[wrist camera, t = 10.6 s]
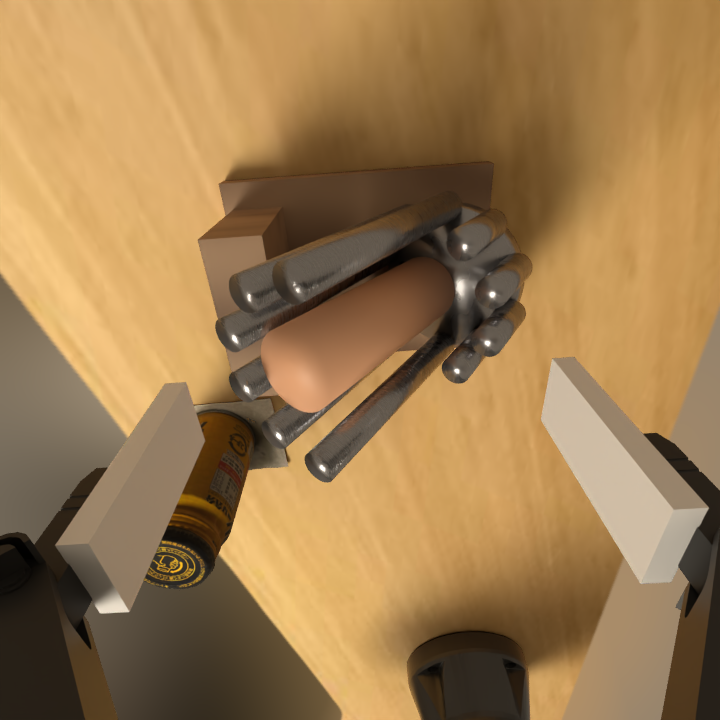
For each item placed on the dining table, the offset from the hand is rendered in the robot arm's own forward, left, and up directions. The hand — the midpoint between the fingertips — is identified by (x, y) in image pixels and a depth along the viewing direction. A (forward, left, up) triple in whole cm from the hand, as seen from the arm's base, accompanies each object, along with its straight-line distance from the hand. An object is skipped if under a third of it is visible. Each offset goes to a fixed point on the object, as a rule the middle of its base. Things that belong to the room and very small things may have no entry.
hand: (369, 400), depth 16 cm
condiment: (-14, +12, -16) cm, 24 cm away
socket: (0, -1, -15) cm, 15 cm away
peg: (-1, -4, -12) cm, 13 cm away
